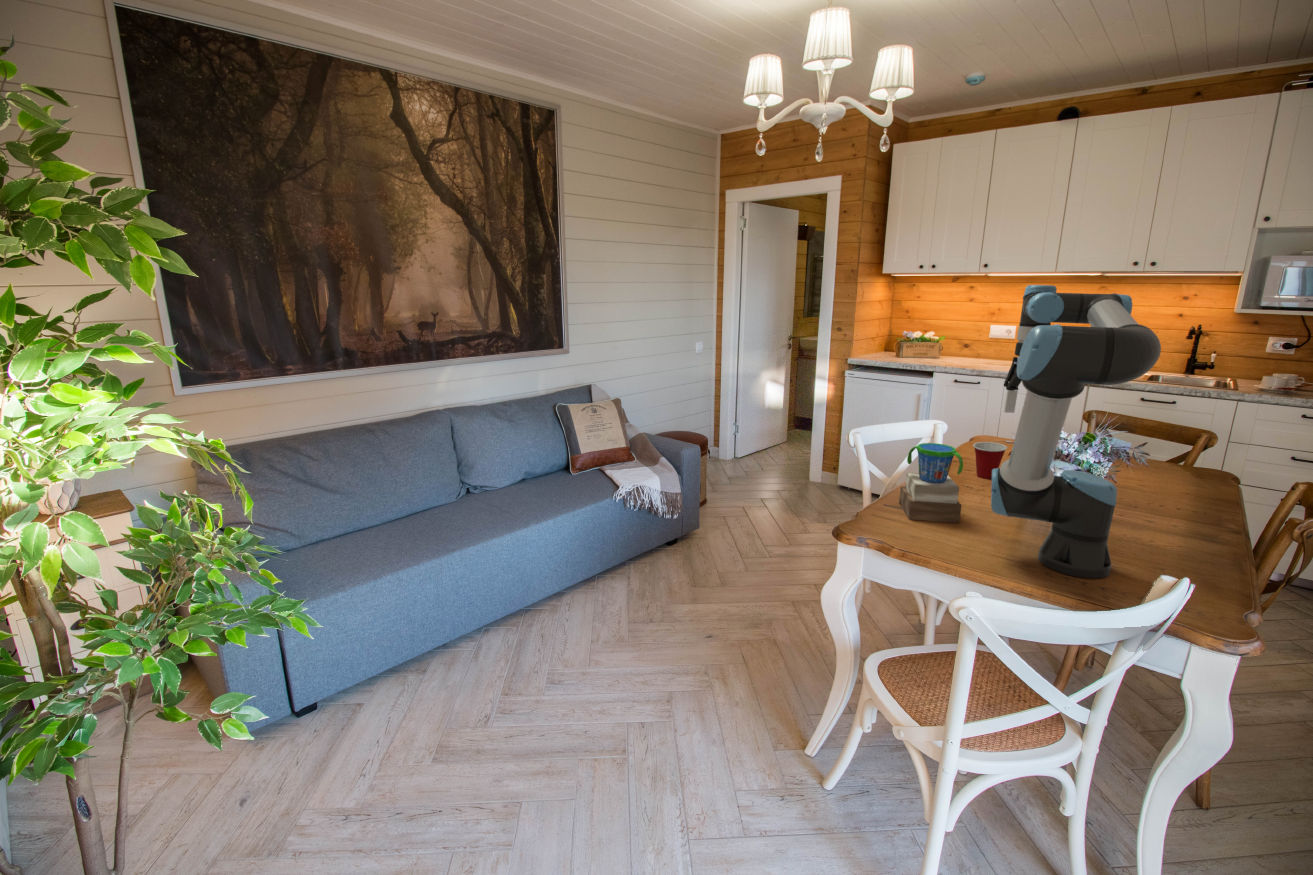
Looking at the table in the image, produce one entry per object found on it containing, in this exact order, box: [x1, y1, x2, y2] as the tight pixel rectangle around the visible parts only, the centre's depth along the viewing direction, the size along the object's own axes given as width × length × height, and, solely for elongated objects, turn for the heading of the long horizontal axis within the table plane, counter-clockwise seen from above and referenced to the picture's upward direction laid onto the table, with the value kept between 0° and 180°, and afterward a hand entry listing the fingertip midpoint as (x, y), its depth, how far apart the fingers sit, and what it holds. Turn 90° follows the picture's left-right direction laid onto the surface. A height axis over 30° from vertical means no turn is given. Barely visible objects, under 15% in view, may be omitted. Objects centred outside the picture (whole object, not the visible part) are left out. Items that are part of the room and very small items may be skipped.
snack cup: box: [906, 442, 964, 483], centre depth 185 cm, size 16×10×10 cm
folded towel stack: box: [898, 472, 963, 524], centre depth 188 cm, size 14×14×10 cm
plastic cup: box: [972, 441, 1008, 480], centre depth 224 cm, size 11×11×12 cm
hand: (1019, 417), depth 178 cm, fingers open, 13 cm apart
